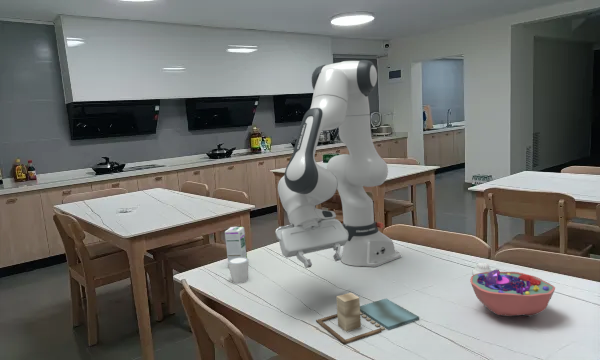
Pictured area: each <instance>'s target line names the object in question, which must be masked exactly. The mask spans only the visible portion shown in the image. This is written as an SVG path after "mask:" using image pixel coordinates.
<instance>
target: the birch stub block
mask: <svg viewBox="0 0 600 360" xmlns="http://www.w3.org/2000/svg"><path fill="white" fill-rule="evenodd" d="M335 298H336V310H337V312H336V314H337V315H338V317H337V326H338V327H339V328H340V329H342V330H343V331H344V332H347V333H348V332H351V331H353V330H357V329H360V328H361V327H362V325H361V324H362V323H361V321H362V320H361V315H360V306H361V303H360V302H361V301H360V297H359V296H357V295H355V294H354V293H353V292H348V293H344V294H341V295H336V297H335Z"/></svg>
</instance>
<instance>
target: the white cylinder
mask: <svg viewBox="0 0 600 360" xmlns="http://www.w3.org/2000/svg"><path fill="white" fill-rule="evenodd" d="M228 263H229V266H228V269H229V272H230V277H231V282H232V283H235V284H241V283H246V282H247V281H249V258H248V257H247V258H244V257H239V258H233V259H231V260H229V261H228V260H227V264H228Z"/></svg>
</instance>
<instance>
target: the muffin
mask: <svg viewBox="0 0 600 360" xmlns="http://www.w3.org/2000/svg"><path fill="white" fill-rule="evenodd" d="M490 271H493V270H492V269H491V268H490V265H489V263H486V262H478V263H477V264H476V267H475V268H474V269H473V270H472V272H471V274H472V276H473V275H475V274H478V273H483V272H490Z"/></svg>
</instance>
